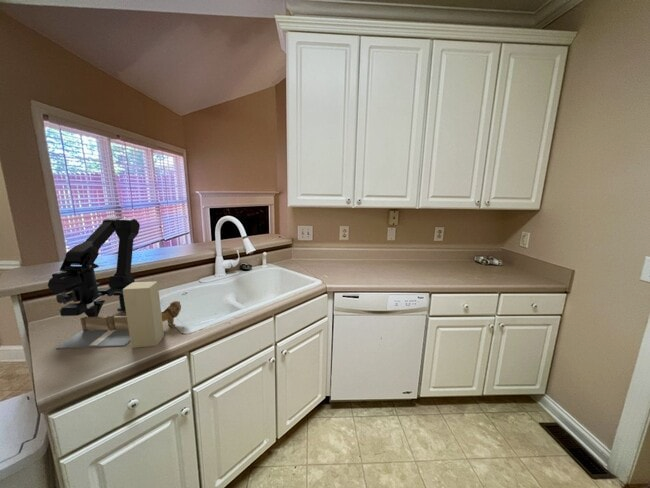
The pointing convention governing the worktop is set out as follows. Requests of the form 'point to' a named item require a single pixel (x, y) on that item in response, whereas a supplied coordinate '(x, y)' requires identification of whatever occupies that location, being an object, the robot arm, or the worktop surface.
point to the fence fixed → (117, 322)
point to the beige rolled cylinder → (94, 323)
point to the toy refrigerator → (143, 313)
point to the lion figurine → (171, 312)
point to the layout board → (97, 339)
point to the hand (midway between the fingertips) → (93, 321)
